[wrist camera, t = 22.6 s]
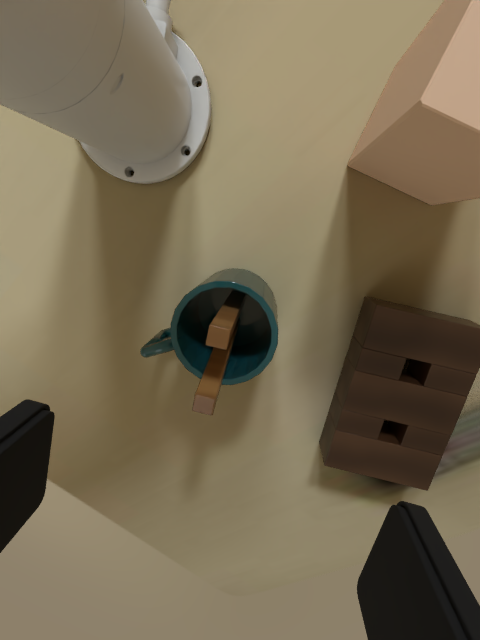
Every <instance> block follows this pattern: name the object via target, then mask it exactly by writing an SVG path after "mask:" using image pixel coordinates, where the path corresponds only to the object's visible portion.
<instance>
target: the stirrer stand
mask: <svg viewBox="0 0 480 640" xmlns="http://www.w3.org/2000/svg"><path fill="white" fill-rule="evenodd" d="M406 358H409V359H411V361H410V364H409V367H408V370H406V369H403V367H404V364H405V361H406ZM479 368H480V325H479V324H476V323H474V322H472V321H470V320H466V319H461V318H457V317H453V316H448V315H444V314H440V313H435V312H431V311H427V310H422V309H418V308H414V307H409V306H405V305H401V304H396V303H392V302H387V301H383V300H379V299H374V298H370V297H365V298H364V301H363V304H362V307H361V311H360V314H359V317H358V320H357V323H356V327H355V330H354V333H353V336H352V339H351V343H350V346H349V349H348V352H347V356H346V358H345V361H344V364H343V368H342V371H341V374H340V377H339V380H338V383H337V387H336V390H335V393H334V396H333V400H332V403H331V406H330V409H329V412H328V416H327V419H326V422H325V425H324V428H323V431H322V435H321V438H320V441H319V444H320V448H321V453H322V457H323V462H324V465H325V466H329V467H333V468H337V469H341V470H345V471H349V472H354V473H358V474H362V475H366V476H370V477H374V478H378V479H382V480H386V481H390V482H394V483H398V484H403V485H407V486H411V487H415V488H419V489H423V490H428V489H429V486H430V484H431V482H432V479H433V477H434V474H435V472H436V470H437V467H438V465H439V463H440V460H441V458H442V455H443V453H444V451H445V448H446V446H447V444H448V441H449V439H450V436H451V435H452V432H453V430H454V427H455V425H456V423H457V420H458V418H459V416H460V413H461V411H462V408H463V406H464V404H465V401H466V399H467V396H468V394H469V391H470V389H471V387H472V384H473V382H474V379H475V377H476V374H477V372H478V370H479ZM384 419H385V420H389V421H388V424H386V423H383V422H384Z"/></svg>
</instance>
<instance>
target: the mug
mask: <svg viewBox="0 0 480 640" xmlns="http://www.w3.org/2000/svg"><path fill="white" fill-rule="evenodd" d="M232 291H235V292H239V293H244V294H245V300H244V304H243V308H242V310H241V313H240V316H239V318H238V319H240V321H239V325H238V330H237V333H236V337H235V340H234V344H233V347H232V350H231V354H230V357H229V360H228V364H227V367H226V371H225V374H224V377H223V381H222V384H221V385H234V384H238V383H242V382H245V381H248V380H250V379H252V378H253V377H255V376H256V375H258V374H260V373H261V372H262V371H263V370H264V369H265V367H266V366H267V365H268V364H269V363H270V361H271V360H272V358H273V355H274V353H275V350H276V347H277V344H278V320H277V305H276V301H275V297H274V295H273V292H272V290H271V289H270V287H269V286H268V284H267V283H266V282H265V281H264V280H263V279H262V278H261V277H259V276H258V275H256V274H255V273H252V272H250V271H247V270H244V269H226V270H222V271H220V272H217V273H215V274H213V275H212V276H210V277H209V278H208V279H206V280H205V281H204V282H202V283H201V284H200V285H198V286H197V287H196V288H194V289H193V290H192V291H190V292H189V293H188V294H186V295H185V296H184V297H183V299H182V300H181V302H180V303H179V304H178V306H177V307H176V309H175V311H174V315H173V318H172V322H171V328H167V329H164V330H161V331H160V332H159V333H158V334H156V335H155V336H154V337H153V338H152V339H151V340H150V341H149V342H148V343H147V344H145V345H144V346H143V347H142V348H141V351H140V353H141V355H142V356H143V357H146V358H147V357H151V356H155V355H158V354H162V353H165V352H169V351H172V350H175V353H176V355H177V357H178V359H179V360H180V361H181V362H182V364H183V365H184V366H185V368H186V369H187V370H188V371H190V372H191V373H193V374H194V375H195V376H197V377H198V378H202V376H203V373H204V371H205V368H206V366H207V363H208V360H209V358H210V355H211V353H212V350H213V348H214V347H212V346H207V345H206V339H207V334H208V329H209V325H210V324H211V322H212V321H213V319H214V318H215V316H216V314H217V313H218V311H219V310H220V308H221V307H222V305H223V304H224V302H225V301H226V299H227V298H228V296H229V295H230V293H231V292H232Z"/></svg>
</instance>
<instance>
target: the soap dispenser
mask: <svg viewBox="0 0 480 640" xmlns="http://www.w3.org/2000/svg"><path fill="white" fill-rule="evenodd" d="M348 166H349V167H351V168H353V169H355V170H357V171H359V172H361V173H364V174H366V175H368V176H370V177H372V178H374V179H376V180H378V181H381V182H383V183H385V184H387V185H389V186H391V187H393V188H395V189H398V190H400V191H402V192H404V193H406V194H408V195H410V196H412V197H415V198H417V199H419V200H421V201H423V202H425V203H427V204H429V205H437V204H444V203H450V202H457V201H463V200H470V199H476V198H480V0H444V2H443V3H442V4H441V6H440V7H439V8H438V10H437V11H436V12H435V14H434V15H433V16H432V18H431V19H430V20H429V22H428V23H427V24H426V26H425V27H424V28H423V30H422V31H421V32H420V34H419V35H418V36H417V38H416V39H415V40H414V42H413V43H412V44H411V46H410V47H409V48H408V50H407V51H406V52H405V54H404V55H403V56H402V57H401V59H400V60H399V61H398V63H397V64H396V65H395V67H394V69H393V72H392V74H391V76H390V78H389V80H388V82H387V84H386V86H385V88H384V90H383V92H382V94H381V96H380V98H379V100H378V102H377V104H376V106H375V108H374V110H373V112H372V115H371V117H370V119H369V121H368V123H367V125H366V127H365V129H364V131H363V133H362V135H361V137H360V139H359V141H358V143H357V145H356V147H355V149H354V151H353V153H352V155H351V158H350V160H349V162H348Z"/></svg>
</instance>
